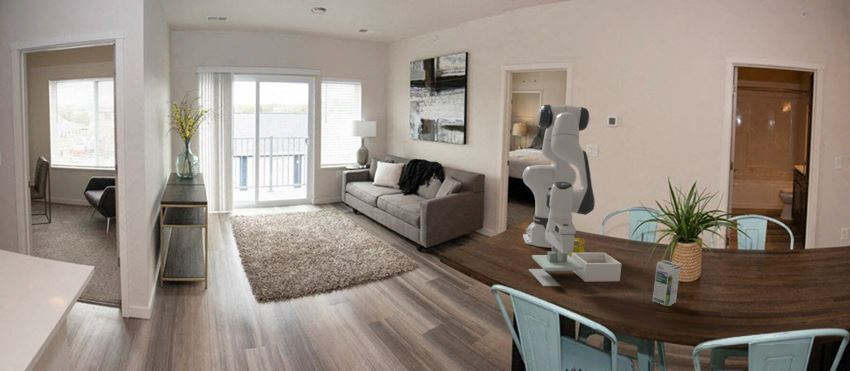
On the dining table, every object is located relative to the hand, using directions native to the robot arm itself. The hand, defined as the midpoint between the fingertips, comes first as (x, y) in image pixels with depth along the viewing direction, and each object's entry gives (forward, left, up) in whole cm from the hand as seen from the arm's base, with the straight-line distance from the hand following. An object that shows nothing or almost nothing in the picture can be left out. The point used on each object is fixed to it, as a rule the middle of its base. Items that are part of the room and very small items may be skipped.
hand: (556, 258), depth 188 cm
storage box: (0, +16, -8) cm, 18 cm away
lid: (0, 0, -2) cm, 2 cm away
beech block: (-2, +18, -7) cm, 19 cm away
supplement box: (-16, +15, -8) cm, 23 cm away
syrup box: (+25, +30, -8) cm, 40 cm away
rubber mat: (0, 0, -8) cm, 8 cm away
